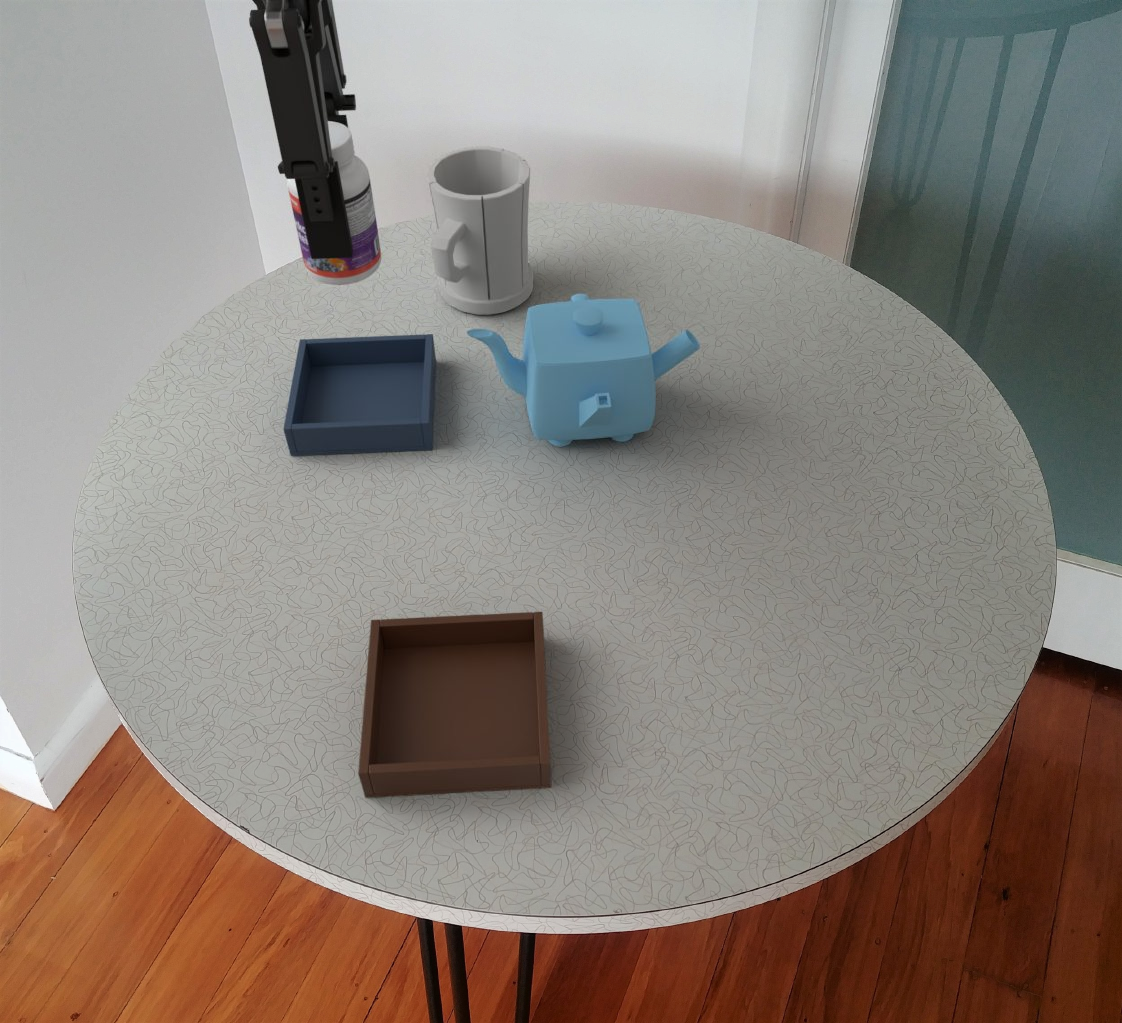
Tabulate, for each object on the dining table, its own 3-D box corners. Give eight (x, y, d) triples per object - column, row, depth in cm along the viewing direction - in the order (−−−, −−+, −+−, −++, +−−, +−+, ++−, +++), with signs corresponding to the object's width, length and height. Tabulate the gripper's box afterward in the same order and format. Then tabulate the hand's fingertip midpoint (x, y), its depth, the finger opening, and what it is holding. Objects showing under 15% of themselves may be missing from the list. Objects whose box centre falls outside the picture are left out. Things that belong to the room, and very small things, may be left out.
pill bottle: (289, 271, 74) (258, 141, 67) (341, 235, 77) (317, 107, 70) (347, 296, 72) (322, 165, 65) (398, 259, 75) (380, 129, 68)
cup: (541, 324, 95) (538, 205, 86) (440, 333, 94) (426, 213, 86) (528, 258, 102) (524, 142, 93) (434, 266, 101) (421, 149, 93)
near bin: (365, 797, 64) (357, 773, 61) (376, 645, 71) (370, 619, 69) (551, 787, 64) (550, 763, 62) (543, 637, 72) (542, 611, 69)
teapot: (679, 358, 92) (688, 259, 84) (712, 472, 82) (726, 371, 75) (471, 374, 90) (462, 274, 83) (480, 491, 81) (470, 390, 74)
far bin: (290, 456, 84) (283, 429, 82) (306, 366, 91) (299, 339, 89) (432, 450, 84) (428, 423, 82) (436, 360, 92) (432, 333, 90)
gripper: (317, -101, 49) (383, 308, 66) (351, -207, 62) (399, 160, 79) (155, -96, 49) (262, 313, 66) (222, -204, 62) (297, 163, 79)
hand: (336, 229), depth 73 cm, fingers closed on pill bottle, 5 cm apart
